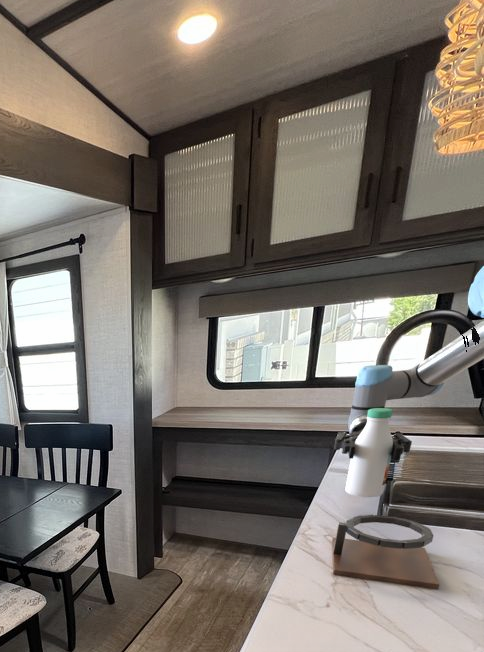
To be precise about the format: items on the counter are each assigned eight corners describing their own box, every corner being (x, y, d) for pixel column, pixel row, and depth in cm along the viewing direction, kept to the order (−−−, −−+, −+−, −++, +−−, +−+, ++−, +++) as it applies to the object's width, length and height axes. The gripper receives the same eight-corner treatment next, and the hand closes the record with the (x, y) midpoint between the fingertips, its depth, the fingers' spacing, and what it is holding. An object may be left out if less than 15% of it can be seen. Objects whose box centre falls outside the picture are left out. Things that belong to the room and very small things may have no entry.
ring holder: (423, 551, 95) (433, 517, 92) (438, 589, 83) (450, 551, 80) (331, 541, 103) (338, 509, 100) (333, 574, 90) (340, 538, 87)
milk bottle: (374, 500, 109) (393, 413, 101) (338, 493, 115) (354, 410, 107) (388, 492, 113) (407, 407, 105) (352, 485, 119) (368, 405, 111)
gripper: (412, 447, 120) (427, 472, 102) (319, 444, 130) (319, 467, 112) (419, 418, 117) (436, 438, 99) (323, 417, 127) (324, 435, 109)
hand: (374, 453), depth 105 cm, fingers closed on milk bottle, 8 cm apart
